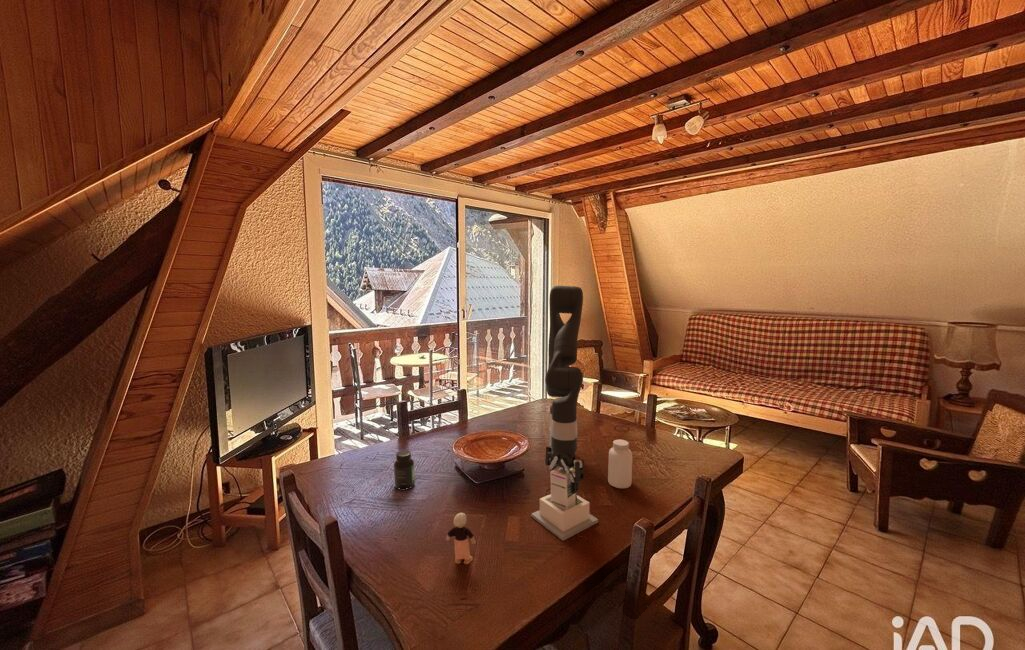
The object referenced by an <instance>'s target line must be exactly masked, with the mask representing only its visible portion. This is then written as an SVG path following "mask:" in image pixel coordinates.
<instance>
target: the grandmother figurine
mask: <svg viewBox="0 0 1025 650" xmlns="http://www.w3.org/2000/svg"><path fill="white" fill-rule="evenodd" d="M452 524H453V525H454V527H452V528H451V529H450V530H449V531H448V532H447V535H446V537H445V540H446V541H447V542H448V541H450V539H451V538H453V537H454V555H455V556H454V557H455V558H454V560H455V561H454V563H455V564H458V565H459V564H461V563H463V564H464V565H469V564H470V563H471V562H472V561H473V556H472V555H471V553H470V552H471V551H470V543H469V540H470V541H471V544H472V545H475V544H476V542H477V541H476V540H475V537H474V534H473V533H472V531H471V530H470V529H469V527H466V524H467V515H466V514H465V512H459V513H457V514H456V515H455V516H454V518H453V522H452ZM468 538H469V539H468ZM462 561H463V562H462Z"/></svg>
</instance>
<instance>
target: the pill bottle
mask: <svg viewBox="0 0 1025 650" xmlns="http://www.w3.org/2000/svg"><path fill="white" fill-rule="evenodd" d="M607 471H608V472H607V481H608V484H609V485H610V486H612V487H614V488H617V489H628V488H630V487H631V485H632V482H633V481H632V480H633V479H632V477H633V476H632V475H633V452H632V451H631V449H630V442H629V441H627V440H624V439H615V440H613V442H612V447H611V448H609V451H608V470H607Z"/></svg>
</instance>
